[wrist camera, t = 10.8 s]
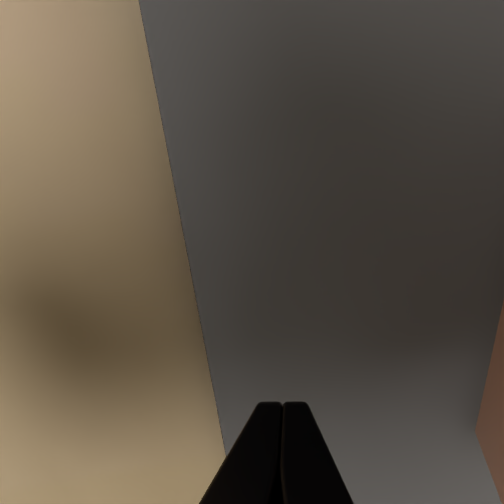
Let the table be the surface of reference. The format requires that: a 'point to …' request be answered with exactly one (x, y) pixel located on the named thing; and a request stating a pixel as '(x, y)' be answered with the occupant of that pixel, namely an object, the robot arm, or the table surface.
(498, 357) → the block
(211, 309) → the mat
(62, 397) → the table surface
